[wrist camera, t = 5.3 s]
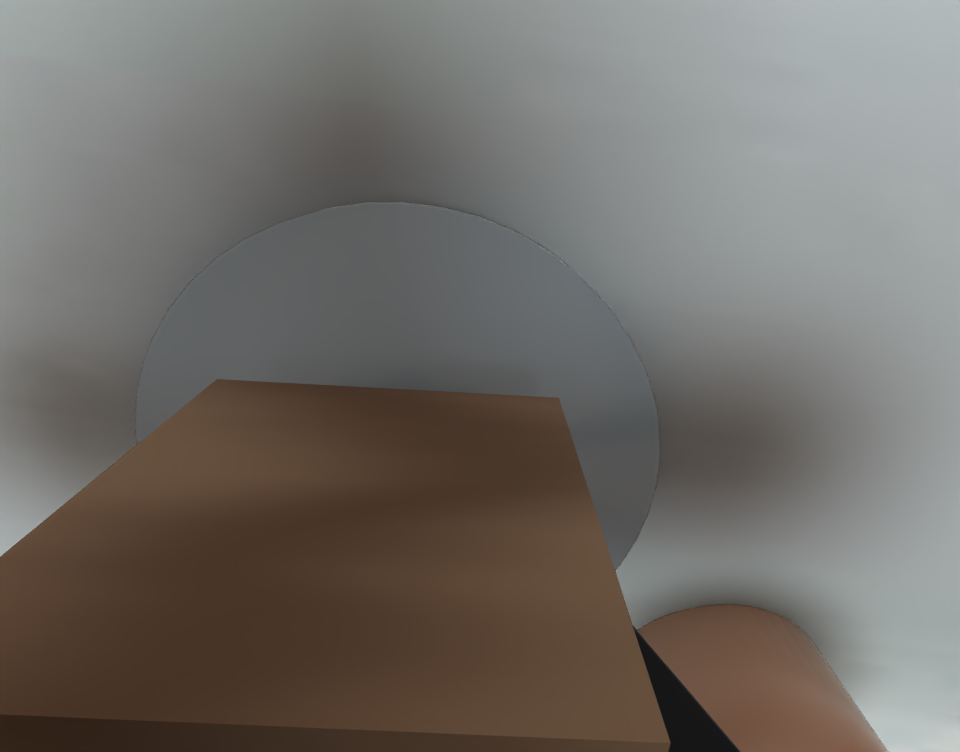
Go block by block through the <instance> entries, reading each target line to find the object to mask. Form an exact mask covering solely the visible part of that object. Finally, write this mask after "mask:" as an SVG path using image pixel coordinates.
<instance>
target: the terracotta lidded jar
mask: <svg viewBox="0 0 960 752" xmlns="http://www.w3.org/2000/svg"><path fill="white" fill-rule="evenodd" d="M637 631H638V632H639V633H640V634H641V636H642V637H643V638H644V639H645V640H646V641H647V643H648V644H649V645H650V646H651V647H652V648H653V650H654V651H655V652H656V653H657V654H658V655H659V657H660V658H661V659H662V660H663V661H664V662H665V664H666V665H667V666H668V667H669V668H670V669H671V671H672V672H673V673H674V674H675V675H676V676H677V678H678V679H679V680H680V681H681V682H682V683H683V685H684V686H685V687H686V688H687V689H688V690H689V692H690V693H691V694H692V695H693V696H694V697H695V699H696V700H697V701H698V702H699V703H700V704H701V706H702V707H703V708H704V709H705V710H706V711H707V713H708V714H709V715H710V716H711V717H712V718H713V720H714V721H715V722H716V723H717V724H718V725H719V727H720V728H721V729H722V730H723V731H724V732H725V734H726V735H727V736H728V737H729V738H730V739H731V741H732V742H733V743H734V744H735V745H736V747H737V748H738V749H739V750H740V751H741V752H888V750H887V749H886V747H885V746H884V745H883V743H882V742H881V740H880V739H879V737H878V736H877V734H876V733H875V731H874V730H873V729H872V727H871V726H870V724H869V723H868V721H867V720H866V718H865V717H864V715H863V714H862V713H861V711H860V710H859V708H858V707H857V705H856V704H855V702H854V701H853V699H852V698H851V697H850V695H849V694H848V692H847V691H846V689H845V688H844V686H843V685H842V683H841V682H840V681H839V679H838V678H837V676H836V675H835V673H834V672H833V670H832V669H831V668H830V666H829V665H828V663H827V662H826V660H825V659H824V657H823V656H822V654H821V653H820V652H819V650H818V649H817V647H816V646H815V644H814V643H813V642H812V640H811V639H810V637H809V636H808V635H807V634H806V633H805V632H804V631H803V630H802V629H801V628H800V627H799V626H797V625H796V624H794V623H793V622H791V621H790V620H788V619H786V618H784V617H782V616H780V615H778V614H776V613H773V612H770V611H767V610H764V609H759V608H755V607H750V606H741V605H709V606H700V607H695V608H690V609H685V610H682V611H678V612H675V613H672V614H669V615H666V616H664V617H661V618H659V619H656V620H654V621H652V622H650V623H648V624H647V625H645V626H643V627H641V628H639V629H638V630H637Z"/></svg>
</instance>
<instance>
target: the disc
mask: <svg viewBox="0 0 960 752" xmlns="http://www.w3.org/2000/svg"><path fill="white" fill-rule="evenodd" d="M216 379H226V380H244V381H262V382H281V383H299V384H317V385H335V386H354V387H372V388H390V389H409V390H427V391H445V392H464V393H482V394H500V395H519V396H537V397H555V398H559V400H560V403H561V406H562V409H563V412H564V415H565V418H566V421H567V424H568V428H569V431H570V434H571V437H572V440H573V443H574V446H575V449H576V452H577V455H578V458H579V462H580V465H581V468H582V471H583V474H584V477H585V480H586V483H587V486H588V489H589V492H590V496H591V499H592V502H593V505H594V508H595V511H596V514H597V517H598V520H599V523H600V526H601V530H602V533H603V536H604V539H605V542H606V545H607V548H608V551H609V554H610V557H611V560H612V564H613V567H614V570H616V569H617V568H618V567H619V566H620V564H621V563H622V562H623V560H624V558H625V557H626V555H627V554H628V552H629V551H630V549H631V547H632V546H633V544H634V543H635V541H636V539H637V537H638V535H639V533H640V531H641V528H642V526H643V524H644V522H645V520H646V518H647V515H648V512H649V509H650V506H651V502H652V499H653V495H654V492H655V489H656V483H657V476H658V469H659V461H660V428H659V422H658V416H657V410H656V404H655V398H654V394H653V391H652V388H651V385H650V382H649V379H648V376H647V373H646V370H645V367H644V365H643V363H642V361H641V359H640V357H639V355H638V353H637V351H636V349H635V347H634V345H633V343H632V341H631V339H630V337H629V335H628V334H627V332H626V331H625V330H624V328H623V327H622V325H621V324H620V322H619V321H618V320H617V318H616V317H615V315H614V314H613V313H612V311H611V310H610V308H609V307H608V306H607V305H606V303H605V302H604V301H603V300H602V299H601V298H600V297H599V296H598V295H597V294H596V293H595V292H594V290H593V289H592V288H591V287H590V286H589V285H588V284H587V283H586V282H585V281H584V280H583V279H582V278H581V277H580V276H579V275H578V274H577V273H576V272H575V271H573V270H572V269H571V268H570V267H568V266H567V265H566V264H565V263H563V262H562V261H561V260H560V259H558V258H557V257H556V256H555V255H553V254H552V253H551V252H550V251H548V250H546V249H545V248H543V247H541V246H540V245H538V244H536V243H534V242H533V241H531V240H529V239H528V238H526V237H524V236H523V235H521V234H519V233H518V232H515V231H513V230H511V229H508V228H506V227H504V226H501V225H499V224H497V223H494V222H492V221H489V220H487V219H485V218H482V217H479V216H475V215H472V214H468V213H464V212H461V211H457V210H453V209H449V208H446V207H440V206H432V205H425V204H417V203H409V202H364V203H357V204H350V205H344V206H337V207H330V208H326V209H322V210H319V211H315V212H312V213H309V214H305V215H302V216H299V217H295V218H292V219H289V220H285V221H282V222H280V223H278V224H275V225H273V226H271V227H269V228H267V229H265V230H262V231H260V232H258V233H256V234H254V235H252V236H250V237H247V238H246V239H244V240H243V241H241V242H240V243H238V244H237V245H235V246H234V247H232V248H231V249H229V250H228V251H226V252H225V253H223V254H222V255H220V256H219V257H217V258H216V259H215V260H213V261H212V262H211V263H210V264H209V265H208V266H207V267H206V268H205V269H204V270H203V271H202V272H200V273H199V274H198V275H197V276H196V277H195V278H194V279H193V280H192V281H191V282H190V283H189V284H188V285H187V286H186V288H185V289H184V290H183V291H182V293H181V294H180V295H179V297H178V298H177V299H176V300H175V302H174V303H173V304H172V305H171V307H170V308H169V309H168V311H167V313H166V315H165V316H164V318H163V320H162V322H161V324H160V325H159V327H158V329H157V331H156V333H155V335H154V336H153V338H152V341H151V344H150V346H149V349H148V352H147V355H146V358H145V361H144V363H143V366H142V369H141V375H140V380H139V386H138V392H137V397H136V429H135V431H136V438H137V444H138V443H140V442H141V441H142V440H143V439H144V438H146V437H147V436H148V435H149V434H151V433H152V432H153V431H154V430H155V429H157V428H158V427H159V426H160V425H161V424H163V423H164V422H165V421H166V420H168V419H169V418H170V417H171V416H172V415H174V414H175V413H176V412H177V411H179V410H180V409H181V408H182V407H183V406H185V405H186V404H187V403H188V402H189V401H191V400H192V399H193V398H194V397H196V396H197V395H198V394H199V393H200V392H202V391H203V390H204V389H205V388H207V387H208V386H209V385H210V384H211V383H213V382H214V381H215V380H216Z"/></svg>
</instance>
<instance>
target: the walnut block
mask: <svg viewBox="0 0 960 752" xmlns="http://www.w3.org/2000/svg"><path fill="white" fill-rule="evenodd" d="M670 744H671V743H670V740H669V737H668V733H667V730H666V727H665V724H664V721H663V718H662V715H661V712H660V709H659V706H658V703H657V699H656V696H655V693H654V690H653V687H652V684H651V681H650V678H649V675H648V672H647V669H646V665H645V662H644V659H643V656H642V653H641V650H640V647H639V644H638V641H637V638H636V635H635V631H634V628H633V625H632V622H631V619H630V616H629V613H628V610H627V607H626V604H625V601H624V597H623V594H622V591H621V588H620V585H619V582H618V579H617V576H616V573H615V570H614V567H613V564H612V560H611V557H610V554H609V551H608V548H607V545H606V542H605V539H604V536H603V533H602V530H601V526H600V523H599V520H598V517H597V514H596V511H595V508H594V505H593V502H592V499H591V496H590V492H589V489H588V486H587V483H586V480H585V477H584V474H583V471H582V468H581V465H580V462H579V458H578V455H577V452H576V449H575V446H574V443H573V440H572V437H571V434H570V431H569V428H568V424H567V421H566V418H565V415H564V412H563V409H562V406H561V403H560V400H559V398H555V397H537V396H519V395H500V394H482V393H464V392H445V391H427V390H409V389H390V388H372V387H354V386H335V385H317V384H299V383H281V382H262V381H244V380H226V379H216V380H215V381H214V382H213V383H211V384H210V385H209V386H208V387H207V388H205V389H204V390H203V391H202V392H200V393H199V394H198V395H197V396H196V397H194V398H193V399H192V400H191V401H189V402H188V403H187V404H186V405H185V406H183V407H182V408H181V409H180V410H179V411H177V412H176V413H175V414H174V415H172V416H171V417H170V418H169V419H168V420H166V421H165V422H164V423H163V424H161V425H160V426H159V427H158V428H157V429H155V430H154V431H153V432H152V433H151V434H149V435H148V436H147V437H146V438H144V439H143V440H142V441H141V442H140V443H138V444H137V445H136V446H135V447H133V448H132V449H131V450H130V451H129V452H127V453H126V454H125V455H124V456H122V457H121V458H120V459H119V460H118V461H116V462H115V463H114V464H113V465H112V466H110V467H109V468H108V469H107V470H105V471H104V472H103V473H102V474H101V475H99V476H98V477H97V478H96V479H94V480H93V481H92V482H91V483H90V484H88V485H87V486H86V487H85V488H84V489H82V490H81V491H80V492H79V493H77V494H76V495H75V496H74V497H73V498H71V499H70V500H69V501H68V502H66V503H65V504H64V505H63V506H62V507H60V508H59V509H58V510H57V511H56V512H54V513H53V514H52V515H51V516H49V517H48V518H47V519H46V520H45V521H43V522H42V523H41V524H40V525H38V526H37V527H36V528H35V529H34V530H32V531H31V532H30V533H29V534H27V535H26V536H25V537H24V538H23V539H21V540H20V541H19V542H18V543H17V544H15V545H14V546H13V547H12V548H10V549H9V550H8V551H7V552H6V553H4V554H3V555H2V556H1V557H0V752H668V751H669V747H670Z"/></svg>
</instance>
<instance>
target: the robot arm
mask: <svg viewBox="0 0 960 752" xmlns="http://www.w3.org/2000/svg"><path fill="white" fill-rule="evenodd" d="M633 628H634V631H635V635H636V638H637V641H638V644H639V647H640V650H641V653H642V656H643V659H644V662H645V665H646V669H647V672H648V675H649V678H650V681H651V684H652V687H653V690H654V693H655V696H656V699H657V703H658V706H659V709H660V712H661V715H662V718H663V721H664V724H665V727H666V730H667V733H668V737H669V740H670V743H671V744H670V747H669V751H668V752H741V751H740V750H739V749H738V748H737V747H736V745H735V744H734V743H733V742H732V741H731V739H730V738H729V737H728V736H727V735H726V734H725V732H724V731H723V730H722V729H721V728H720V727H719V725H718V724H717V723H716V722H715V721H714V720H713V718H712V717H711V716H710V715H709V714H708V713H707V711H706V710H705V709H704V708H703V707H702V706H701V704H700V703H699V702H698V701H697V700H696V699H695V697H694V696H693V695H692V694H691V693H690V692H689V690H688V689H687V688H686V687H685V686H684V685H683V683H682V682H681V681H680V680H679V679H678V678H677V676H676V675H675V674H674V673H673V672H672V671H671V669H670V668H669V667H668V666H667V665H666V664H665V662H664V661H663V660H662V659H661V658H660V657H659V655H658V654H657V653H656V652H655V651H654V650H653V648H652V647H651V646H650V645H649V644H648V643H647V641H646V640H645V639H644V638H643V637H642V636H641V634H640V633H639V632H638V631H637V630H636V629H635V627H634V626H633Z"/></svg>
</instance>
